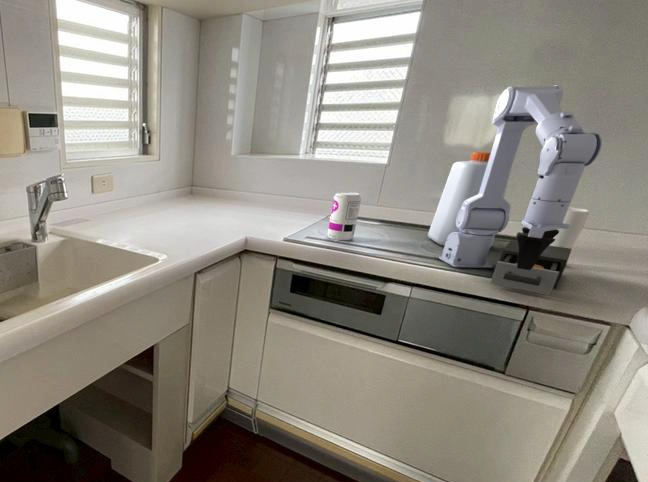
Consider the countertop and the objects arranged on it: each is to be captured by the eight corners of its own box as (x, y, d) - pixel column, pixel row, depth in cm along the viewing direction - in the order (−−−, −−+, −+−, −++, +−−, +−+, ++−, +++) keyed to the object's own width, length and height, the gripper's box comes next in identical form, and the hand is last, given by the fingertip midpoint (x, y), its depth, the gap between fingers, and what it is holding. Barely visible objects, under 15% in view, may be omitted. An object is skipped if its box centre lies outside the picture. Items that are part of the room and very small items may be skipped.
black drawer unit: (555, 289, 94) (567, 260, 91) (493, 276, 102) (502, 249, 99) (560, 275, 103) (571, 248, 100) (502, 265, 110) (511, 239, 108)
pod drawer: (547, 301, 85) (557, 277, 83) (486, 288, 92) (494, 266, 90) (554, 281, 96) (563, 260, 94) (499, 271, 103) (506, 251, 101)
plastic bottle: (473, 238, 136) (500, 151, 126) (496, 250, 123) (529, 154, 112) (423, 236, 140) (445, 151, 129) (440, 247, 126) (467, 153, 116)
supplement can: (327, 239, 136) (335, 194, 130) (326, 234, 143) (333, 191, 137) (354, 241, 133) (363, 195, 128) (351, 236, 140) (360, 192, 135)
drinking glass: (533, 258, 116) (553, 205, 110) (565, 262, 112) (588, 208, 106) (534, 263, 111) (555, 209, 105) (568, 268, 107) (592, 212, 101)
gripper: (577, 207, 71) (548, 278, 77) (581, 197, 80) (555, 262, 86) (525, 202, 76) (501, 269, 81) (534, 193, 85) (512, 255, 90)
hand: (525, 265), depth 84 cm, fingers open, 6 cm apart
